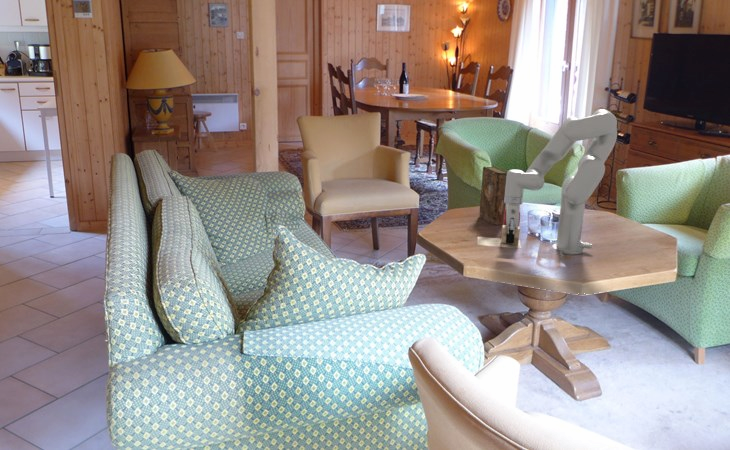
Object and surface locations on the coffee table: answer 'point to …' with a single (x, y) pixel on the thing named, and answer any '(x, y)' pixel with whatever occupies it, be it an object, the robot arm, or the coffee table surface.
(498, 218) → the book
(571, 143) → the robot arm
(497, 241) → the board
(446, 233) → the coffee table surface
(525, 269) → the coffee table surface
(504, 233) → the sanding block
